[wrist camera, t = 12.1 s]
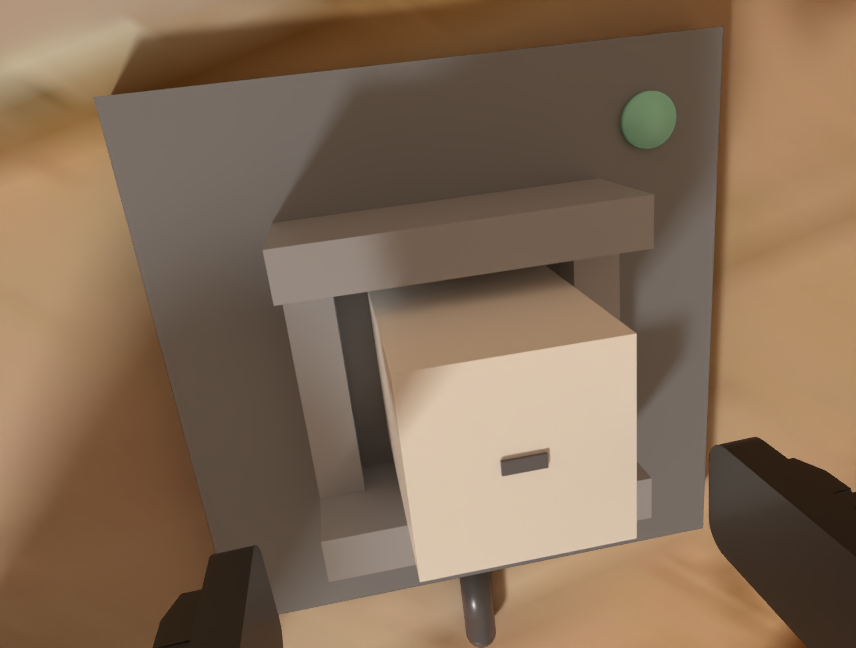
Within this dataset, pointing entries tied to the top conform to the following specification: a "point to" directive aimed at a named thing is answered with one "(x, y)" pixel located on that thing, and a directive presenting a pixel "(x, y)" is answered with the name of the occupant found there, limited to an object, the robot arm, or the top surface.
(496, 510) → the charger block
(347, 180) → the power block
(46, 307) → the top surface
